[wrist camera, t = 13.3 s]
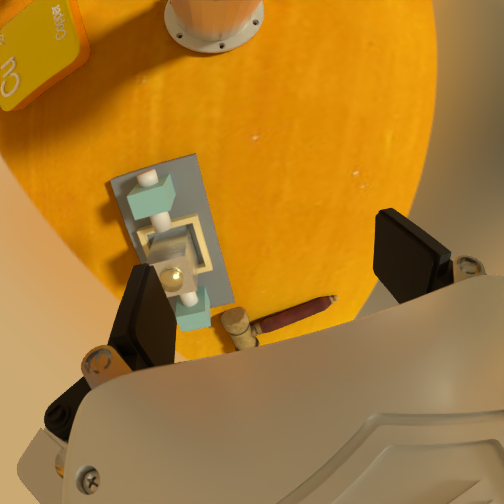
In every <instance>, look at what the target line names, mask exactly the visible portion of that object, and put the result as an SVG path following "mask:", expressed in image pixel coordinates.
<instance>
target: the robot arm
mask: <svg viewBox="0 0 504 504" xmlns="http://www.w3.org/2000/svg"><path fill="white" fill-rule="evenodd" d="M263 18H264V6H263V2H262V0H168V2H167V4H166V6H165V11H164V22H165V25H166V28H167V30H168V32H169V34H170V35H171V37H172V38H173V39H174V40H175V41H176V42H177V43H179V44H180V45H181V46H183V47H185V48H187V49H189V50H192V51H195V52H200V53H222V52H227V51H230V50H234V49H236V48H238V47H240V46H242V45H244V44H245V43H246V42H248V41H249V40H250V39H251V38H252V37H253V36H254V35H255V34H256V33H257V31H258V30H259V28H260V26H261V25H262V22H263ZM253 23H256V25H254V24H253ZM179 36H182V38H178V37H179ZM220 46H223V48H222V49H221V48H220ZM450 256H451V252H450V251H449V250H448V249H447V248H446V247H444V246H443V245H442V244H441V243H439V242H438V241H437V240H435V239H434V238H433V237H432V236H430V235H429V234H428V233H426V232H425V231H424V230H422V229H421V228H420V227H418V226H417V225H416V224H414V223H413V222H411V221H410V220H409V219H407V218H406V217H405V216H403V215H402V214H400V213H399V212H397V211H396V210H395V209H393V208H388V209H383V210H380V211H379V213H378V214H377V215H376V218H375V243H374V260H373V270H374V273H375V275H376V276H377V277H378V278H379V280H380V281H381V282H382V283H383V284H384V286H385V287H386V288H387V289H388V290H389V291H390V293H391V294H392V295H393V297H394V298H395V299H396V300H397V301H398V303H399V305H397V306H394V307H391V308H389V309H386V310H383V311H380V312H377V313H374V314H371V315H368V316H366V317H363V318H359V319H356V320H353V321H350V322H347V323H344V324H340V325H337V326H334V327H330V328H327V329H324V330H320V331H317V332H313V333H310V334H306V335H302V336H299V337H295V338H291V339H287V340H283V341H279V342H275V343H271V344H267V345H263V346H258V347H254V348H250V349H245V350H241V351H236V352H231V353H227V354H222V355H217V356H212V357H206V358H201V359H195V360H190V361H184V362H178V363H174V358H175V357H174V356H175V341H176V327H177V320H176V316H175V314H174V311H173V309H172V307H171V305H170V303H169V300H168V298H167V296H166V293H165V291H164V289H163V287H162V284H161V282H160V280H159V277H158V275H157V272H156V270H155V268H154V266H153V265H151V266H150V265H149V264H148V263H144V264H140V265H136V266H134V267H133V269H132V272H131V275H130V277H129V280H128V283H127V286H126V289H125V292H124V295H123V297H122V300H121V303H120V305H119V309H118V312H117V314H116V318H115V321H114V324H113V328H112V331H111V334H110V337H109V341H108V344H107V345H101V346H98V347H95V348H94V349H92V350H91V351H89V352H88V353H87V354H86V356H85V357H84V358H83V361H82V363H81V370H82V373H83V375H84V376H83V377H82V378H81V379H80V380H79V381H78V382H76V383H75V384H74V385H73V386H71V387H70V388H69V389H68V390H67V391H66V392H64V393H63V394H62V395H61V396H60V397H59V398H57V399H56V400H55V401H54V402H53V403H52V404H51V405H50V406H49V407H48V409H47V410H46V412H45V416H44V423H45V426H46V427H45V429H44V430H43V429H41V428H40V430H39V431H38V432H37V434H36V436H35V437H34V438H33V440H32V441H31V443H30V444H29V446H28V447H27V449H26V450H25V452H24V453H23V455H22V457H21V458H20V460H19V462H18V464H17V473H18V476H19V478H20V480H21V481H22V483H23V484H24V485H25V486H26V487H27V489H28V490H29V491H30V492H31V493H32V495H33V496H34V497H35V498H36V499H37V500H38V501H39V502H40V504H504V276H502V275H487V274H486V273H485V268H484V265H483V264H482V263H481V262H480V261H479V260H478V259H476V258H474V257H471V256H467V255H460V256H457V257H455V258H454V260H453V261H452V260H450Z"/></svg>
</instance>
